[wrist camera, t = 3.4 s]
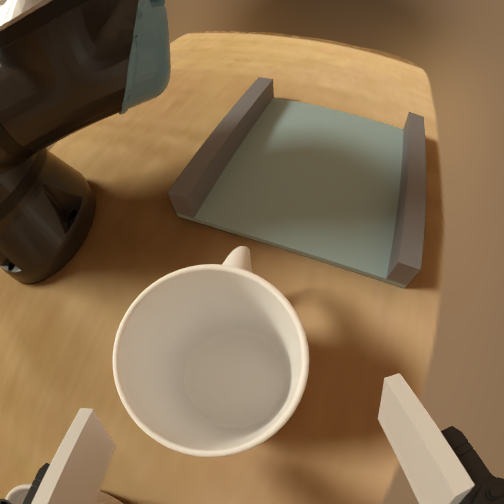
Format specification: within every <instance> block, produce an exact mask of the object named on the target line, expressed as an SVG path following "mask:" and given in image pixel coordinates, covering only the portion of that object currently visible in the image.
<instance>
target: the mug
mask: <svg viewBox="0 0 504 504" xmlns="http://www.w3.org/2000/svg"><path fill="white" fill-rule="evenodd" d="M309 362H310V360H309V346H308V342H307V337H306V333H305V330H304V327H303V324H302V322H301V320H300V318H299V316H298V314H297V312H296V310H295V309H294V308H293V306H292V305H291V303H290V302H289V300H288V299H287V298H286V297H285V296H284V295H283V294H282V293H281V292H280V291H279V290H278V289H277V288H276V287H274V286H273V285H272V284H271V283H269V282H268V281H266V280H265V279H263V278H261V277H260V276H258V275H256V274H253V273H252V268H251V258H250V250H249V248H248V247H245V246H239V247H237V248H236V249H234V250H233V251H232V252H231V253H230V254H229V255H228V257H227V258H226V260H225V261H224V262H223V264H222V265H218V264H206V265H196V266H190V267H187V268H183V269H179V270H177V271H174V272H172V273H170V274H167V275H166V276H164V277H162V278H160V279H158V280H157V281H156V282H154V283H153V284H151V285H150V286H149V287H147V288H146V289H145V290H144V291H143V292H142V293H141V294H140V295H139V296H138V297H137V298H136V299H135V301H134V302H133V303H132V304H131V306H130V307H129V309H128V310H127V312H126V313H125V315H124V317H123V319H122V321H121V323H120V326H119V329H118V331H117V334H116V339H115V343H114V349H113V373H114V379H115V384H116V387H117V391H118V394H119V396H120V398H121V401H122V403H123V405H124V406H125V408H126V410H127V411H128V413H129V415H130V416H131V417H132V419H133V420H134V421H135V422H136V424H137V425H138V426H139V427H140V428H141V429H142V430H143V431H144V432H145V433H146V434H148V435H149V436H150V437H152V438H153V439H154V440H156V441H157V442H159V443H161V444H162V445H164V446H166V447H168V448H170V449H173V450H175V451H178V452H181V453H184V454H189V455H193V456H201V457H222V456H228V455H233V454H238V453H241V452H244V451H246V450H249V449H252V448H253V447H255V446H257V445H259V444H261V443H263V442H264V441H266V440H267V439H269V438H270V437H271V436H273V435H274V434H275V433H276V432H277V431H279V430H280V429H281V428H282V427H283V426H284V425H285V424H286V422H287V421H288V420H289V418H290V417H291V416H292V414H293V413H294V411H295V410H296V408H297V406H298V404H299V402H300V401H301V398H302V396H303V393H304V390H305V388H306V383H307V379H308V374H309Z"/></svg>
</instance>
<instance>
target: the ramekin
mask: <svg viewBox="0 0 504 504" xmlns="http://www.w3.org/2000/svg"><path fill="white" fill-rule="evenodd" d="M31 486H32V483H30V484H24V485H19V486H17V487H15V488H13V489H12V490H11V491H10V492H9V493H8V495H7V496H6V500H8V501H9V502H11V503H12V504H22V503H23V501H24V499H25V497H26V495H27V493H28V491H29V489H30V487H31ZM95 504H123V503H122V502H121V501H119V500H117V499H116V498H114V497H112V496H110V495H108V494H106V493H104V492H101V491H99V494H98V497H97V500H96V503H95Z"/></svg>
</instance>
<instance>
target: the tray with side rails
mask: <svg viewBox="0 0 504 504" xmlns="http://www.w3.org/2000/svg"><path fill="white" fill-rule="evenodd" d="M168 195H169V198H170V200H171V202H172V204H173V206H174V209H175V211H176V213H177V215H178V217H181V218H184V219H188V220H191V221H194V222H198V223H201V224H204V225H207V226H211V227H214V228H217V229H220V230H223V231H227V232H230V233H233V234H236V235H240V236H243V237H246V238H249V239H252V240H256V241H259V242H262V243H265V244H268V245H272V246H275V247H278V248H281V249H284V250H287V251H290V252H294V253H297V254H300V255H303V256H306V257H309V258H312V259H316V260H319V261H322V262H325V263H328V264H331V265H334V266H337V267H340V268H344V269H347V270H350V271H353V272H356V273H359V274H362V275H365V276H368V277H371V278H374V279H377V280H380V281H383V282H386V283H389V284H393V285H396V286H399V287H402V288H405V287H406V286H407V285H408V284H409V283H410V281H411V280H412V279H413V278H414V277H415V276H416V275H417V274H418V272H419V271H420V270H421V263H422V254H423V243H424V230H425V213H426V145H425V128H424V117H422V116H419V115H417V114H414V113H411V112H409V114H408V117H407V120H406V123H405V127H404V130H403V129H400V128H397V127H394V126H391V125H387V124H384V123H381V122H378V121H374V120H371V119H368V118H364V117H361V116H357V115H353V114H350V113H346V112H342V111H338V110H334V109H329V108H325V107H321V106H316V105H312V104H307V103H302V102H297V101H292V100H286V99H280V98H274V94H273V79H267V78H258V79H257V80H256V81H255V82H254V83H253V84H252V86H251V87H250V88H249V89H248V90H247V91H246V92H245V94H244V95H243V96H242V97H241V98H240V99H239V101H238V102H237V103H236V104H235V105H234V106H233V108H232V109H231V110H230V111H229V112H228V114H227V115H226V116H225V117H224V119H223V120H222V121H221V122H220V123H219V125H218V126H217V127H216V128H215V130H214V131H213V132H212V133H211V135H210V136H209V137H208V139H207V140H206V141H205V142H204V144H203V145H202V146H201V148H200V149H199V150H198V152H197V153H196V154H195V156H194V157H193V158H192V160H191V161H190V162H189V164H188V165H187V166H186V168H185V169H184V170H183V172H182V173H181V175H180V176H179V177H178V179H177V180H176V181H175V183H174V184H173V186H172V187H171V189H170V190H169V191H168Z"/></svg>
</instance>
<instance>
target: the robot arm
mask: <svg viewBox="0 0 504 504" xmlns="http://www.w3.org/2000/svg"><path fill="white" fill-rule="evenodd" d="M164 4H165V0H0V266H1V268H2V269H3V270H4V271H5V272H6V273H7V274H9V275H10V276H11V277H13V278H14V279H15V280H17V281H19V282H21V283H36V282H39V281H42V280H44V279H46V278H48V277H50V276H51V275H53V274H54V273H55V272H57V271H58V270H59V269H60V268H62V267H63V266H64V265H65V264H66V263H67V262H68V261H69V259H70V258H71V257H72V256H73V255H74V254H75V252H76V251H77V250H78V248H79V247H80V245H81V244H82V242H83V240H84V238H85V237H86V235H87V233H88V231H89V228H90V226H91V223H92V220H93V216H94V212H95V196H94V192H93V190H92V188H91V187H90V185H89V184H88V182H87V181H86V179H85V178H84V177H83V175H82V174H81V173H79V172H78V171H77V170H75V169H74V168H72V167H71V166H69V165H68V164H66V163H65V162H64V161H62V160H61V159H59V158H58V157H56V156H55V155H53V154H52V153H50V152H49V151H48V150H47V148H46V147H48V146H49V145H51V144H53V143H55V142H57V141H59V140H61V139H63V138H65V137H66V136H68V135H70V134H72V133H74V132H76V131H79V130H81V129H83V128H85V127H87V126H89V125H91V124H93V123H96V122H98V121H100V120H102V119H105V118H107V117H109V116H112V115H114V114H116V113H119V114H124V113H125V112H126V111H127V110H128V109H129V108H132V107H134V106H136V105H139V104H141V103H144V102H146V101H149V100H151V99H153V98H156V97H157V96H159V95H160V94H161V93H162V92H163V91H164V90H165V88H166V87H167V85H168V82H169V79H170V68H171V65H170V43H169V31H168V20H167V12H166V7H165V6H164ZM378 420H379V422H380V424H381V426H382V428H383V430H384V432H385V434H386V436H387V438H388V440H389V442H390V444H391V446H392V448H393V450H394V452H395V454H396V456H397V458H398V460H399V462H400V464H401V467H402V468H403V471H404V472H405V475H406V477H407V479H408V481H409V483H410V485H411V487H412V490H413V492H414V494H415V495H416V498H417V500H418V502H419V504H504V479H502V478H496V477H494V476H493V475H492V474H491V473H490V472H489V470H488V469H487V468H486V466H485V464H484V463H483V462H482V460H481V459H480V457H479V456H478V454H477V453H476V451H475V450H473V447H472V446H471V445H470V443H468V440H467V439H466V437H465V436H464V434H463V433H462V432H461V431H459V430H458V429H456V428H454V427H453V426H451V427H449V428H447V429H445V430H443V431H440V430H439V429H438V427H437V426H436V424H435V423H434V421H433V420H432V418H431V417H430V416H429V414H428V413H427V411H426V410H425V408H424V407H423V405H422V404H421V402H420V401H419V400H418V398H417V397H416V395H415V394H414V392H413V391H412V390H411V388H410V387H409V385H408V384H407V383H406V381H405V380H404V378H403V377H402V376H401V374H400V373H398V374H395V375H392V376H389V377H385V378H384V384H383V391H382V397H381V403H380V409H379V415H378ZM115 446H116V445H115V443H114V442H113V440H112V439H111V437H110V436H109V434H108V433H107V431H106V429H105V428H104V426H103V425H102V423H101V421H100V420H99V418H98V416H97V415H96V413H95V411H94V410H93V409H88V408H80V410H79V412H78V413H77V415H76V417H75V419H74V421H73V422H72V424H71V426H70V428H69V430H68V431H67V433H66V435H65V437H64V439H63V441H62V443H61V444H60V446H59V448H58V450H57V452H56V454H55V456H54V458H53V460H52V462H51V464H48V463H46V464H45V465H44V466H42V467H41V468H40V469H39V471H38V473H37V475H36V477H35V480H34V481H33V483H32V486H31V487H30V489H29V491H28V493H27V495H26V497H25V499H24V501H23V503H22V504H95V503H96V500H97V497H98V494H99V491H100V488H101V485H102V482H103V479H104V477H105V474H106V471H107V468H108V465H109V463H110V460H111V457H112V454H113V452H114V449H115ZM0 504H12V503H11V502H9V501H8V500H6V499H0Z"/></svg>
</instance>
